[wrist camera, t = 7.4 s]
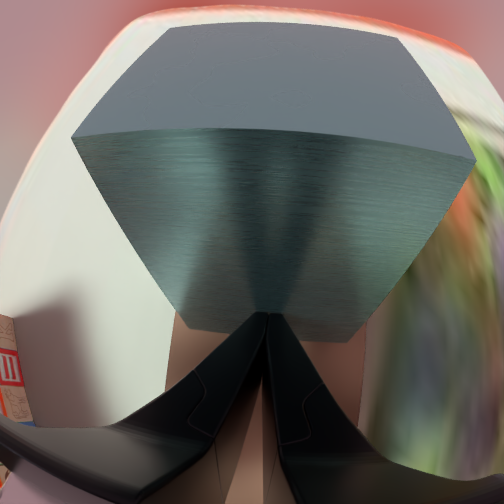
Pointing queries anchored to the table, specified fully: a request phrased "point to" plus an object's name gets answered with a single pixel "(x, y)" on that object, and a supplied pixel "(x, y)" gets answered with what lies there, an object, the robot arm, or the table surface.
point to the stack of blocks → (11, 383)
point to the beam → (251, 458)
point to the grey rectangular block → (275, 170)
